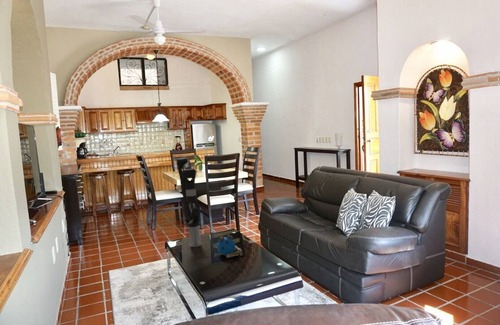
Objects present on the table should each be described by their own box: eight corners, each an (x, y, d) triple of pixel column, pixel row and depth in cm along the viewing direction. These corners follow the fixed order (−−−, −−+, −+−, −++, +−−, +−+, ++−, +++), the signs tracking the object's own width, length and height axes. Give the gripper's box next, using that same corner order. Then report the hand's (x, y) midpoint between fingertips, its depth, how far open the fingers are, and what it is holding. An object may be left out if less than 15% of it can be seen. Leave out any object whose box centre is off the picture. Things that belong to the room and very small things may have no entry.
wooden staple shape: (220, 252, 283) (220, 247, 282) (234, 249, 288) (234, 244, 287) (227, 258, 268) (227, 253, 268) (242, 255, 273) (241, 250, 273)
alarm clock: (233, 251, 282) (231, 233, 281) (236, 254, 276) (234, 235, 275) (217, 255, 277) (215, 236, 275) (220, 257, 271) (218, 238, 270)
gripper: (184, 194, 279) (186, 216, 281) (188, 196, 267) (190, 219, 269) (193, 193, 282) (195, 214, 284) (198, 195, 270) (200, 217, 272)
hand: (193, 216), depth 276 cm, fingers closed
